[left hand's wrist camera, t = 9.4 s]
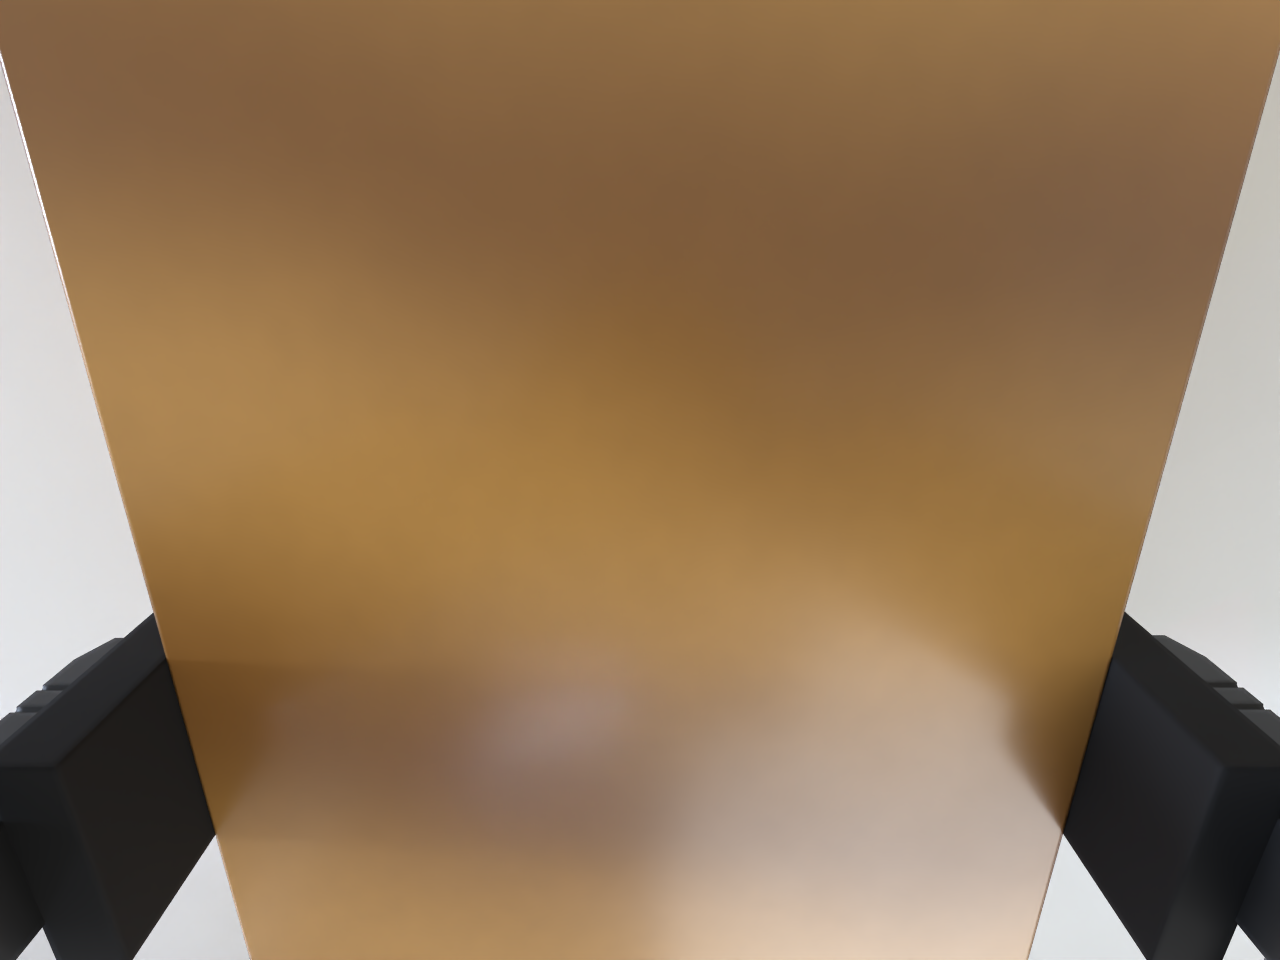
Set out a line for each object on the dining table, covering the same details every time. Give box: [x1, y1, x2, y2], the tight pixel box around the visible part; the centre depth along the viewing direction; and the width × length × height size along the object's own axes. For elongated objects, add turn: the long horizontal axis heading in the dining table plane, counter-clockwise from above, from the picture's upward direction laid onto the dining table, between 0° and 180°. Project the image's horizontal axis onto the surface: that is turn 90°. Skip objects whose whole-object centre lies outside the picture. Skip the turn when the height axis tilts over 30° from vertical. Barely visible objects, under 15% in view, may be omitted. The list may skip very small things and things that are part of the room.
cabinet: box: [0, 0, 1280, 960], centre depth 11 cm, size 22×11×10 cm, turn 0°
